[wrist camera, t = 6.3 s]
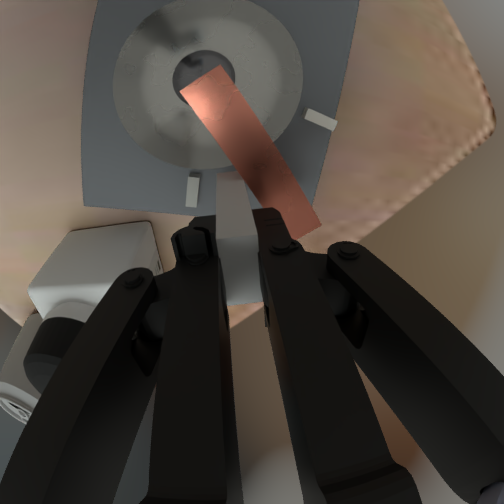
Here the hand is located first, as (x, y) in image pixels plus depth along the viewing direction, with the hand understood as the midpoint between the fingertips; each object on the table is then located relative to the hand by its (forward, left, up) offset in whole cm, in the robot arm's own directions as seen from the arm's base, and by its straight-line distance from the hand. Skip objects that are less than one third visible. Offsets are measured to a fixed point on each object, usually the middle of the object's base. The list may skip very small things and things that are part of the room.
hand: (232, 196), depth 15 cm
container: (+9, -8, -6) cm, 14 cm away
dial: (-4, -1, -3) cm, 6 cm away
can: (+20, -18, -6) cm, 28 cm away
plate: (-6, -2, -5) cm, 8 cm away
